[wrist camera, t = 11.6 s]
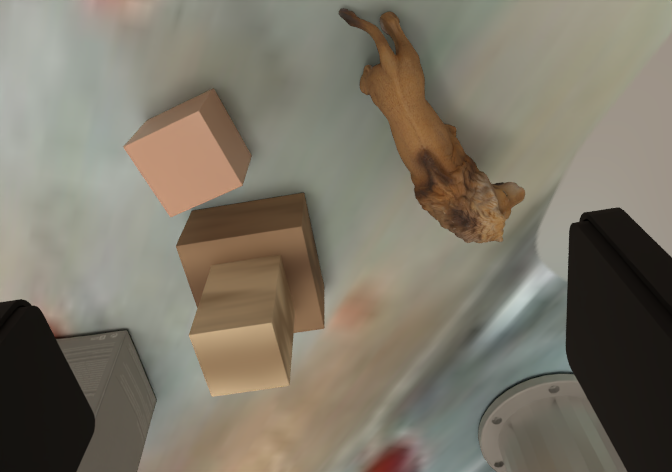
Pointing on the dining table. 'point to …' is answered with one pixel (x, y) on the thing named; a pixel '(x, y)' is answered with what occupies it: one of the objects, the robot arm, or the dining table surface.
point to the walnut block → (258, 248)
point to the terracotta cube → (190, 153)
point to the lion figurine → (432, 142)
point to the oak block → (245, 327)
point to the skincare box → (112, 399)
